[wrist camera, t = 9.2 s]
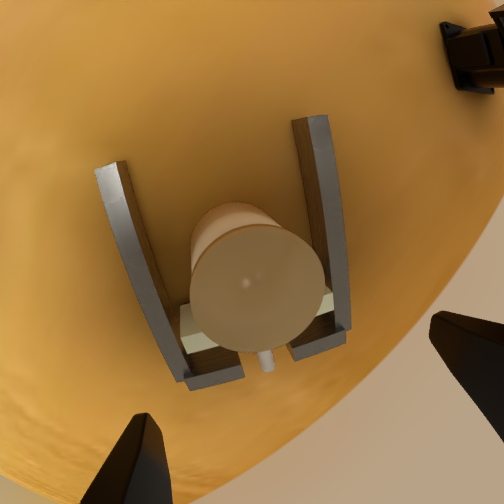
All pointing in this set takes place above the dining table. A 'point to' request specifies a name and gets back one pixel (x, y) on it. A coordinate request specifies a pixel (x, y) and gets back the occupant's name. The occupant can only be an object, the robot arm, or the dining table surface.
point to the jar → (252, 279)
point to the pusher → (199, 341)
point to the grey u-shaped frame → (324, 243)
